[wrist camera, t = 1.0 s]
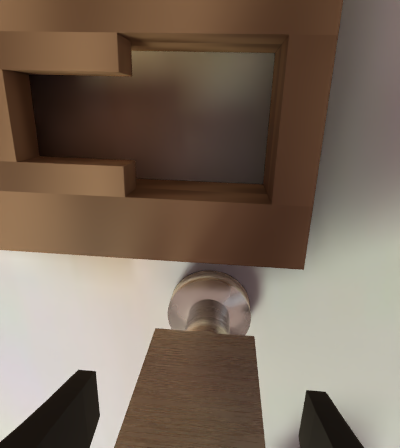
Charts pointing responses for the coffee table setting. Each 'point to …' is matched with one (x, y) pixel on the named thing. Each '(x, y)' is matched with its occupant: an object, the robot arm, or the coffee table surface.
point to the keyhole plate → (125, 169)
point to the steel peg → (199, 373)
